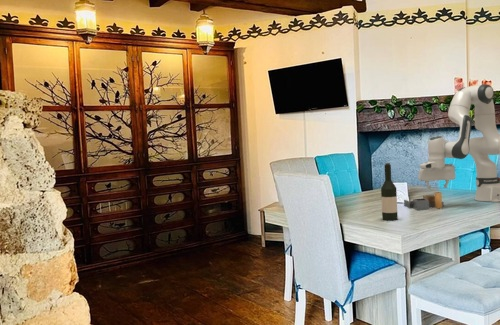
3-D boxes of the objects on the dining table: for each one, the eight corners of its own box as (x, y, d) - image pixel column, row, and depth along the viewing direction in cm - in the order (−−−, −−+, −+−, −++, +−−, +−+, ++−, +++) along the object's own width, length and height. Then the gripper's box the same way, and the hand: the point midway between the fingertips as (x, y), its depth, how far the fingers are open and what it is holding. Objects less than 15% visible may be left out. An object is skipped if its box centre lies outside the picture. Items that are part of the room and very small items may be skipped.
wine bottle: (379, 218, 238) (376, 163, 236) (394, 217, 238) (391, 162, 237) (385, 221, 229) (382, 164, 228) (400, 220, 230) (398, 163, 228)
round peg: (440, 207, 258) (439, 192, 257) (442, 208, 254) (442, 193, 254) (434, 207, 258) (433, 192, 257) (436, 208, 254) (436, 193, 254)
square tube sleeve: (424, 207, 260) (424, 198, 260) (429, 209, 253) (428, 200, 253) (412, 208, 260) (412, 199, 260) (417, 210, 253) (416, 200, 253)
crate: (433, 203, 269) (432, 194, 268) (437, 204, 263) (436, 196, 262) (423, 203, 269) (422, 195, 269) (426, 205, 263) (426, 196, 263)
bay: (436, 203, 271) (436, 197, 271) (443, 206, 261) (443, 200, 261) (404, 205, 271) (404, 199, 271) (409, 208, 261) (409, 202, 261)
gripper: (452, 163, 257) (452, 186, 258) (417, 164, 258) (417, 188, 258) (457, 163, 251) (457, 187, 252) (421, 165, 251) (421, 189, 252)
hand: (437, 188), depth 255 cm, fingers open, 8 cm apart
